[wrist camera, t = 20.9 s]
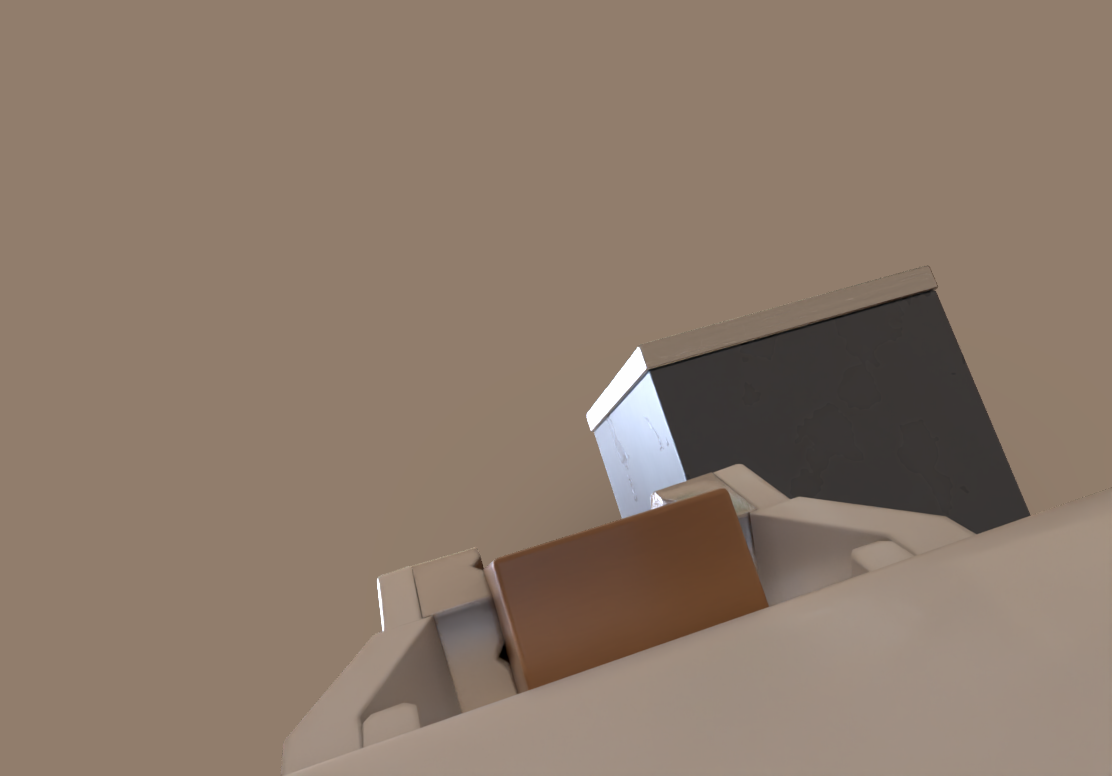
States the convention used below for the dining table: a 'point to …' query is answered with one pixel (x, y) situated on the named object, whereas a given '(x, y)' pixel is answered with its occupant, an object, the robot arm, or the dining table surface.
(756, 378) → the canister with copper handle
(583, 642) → the copper canister handle
